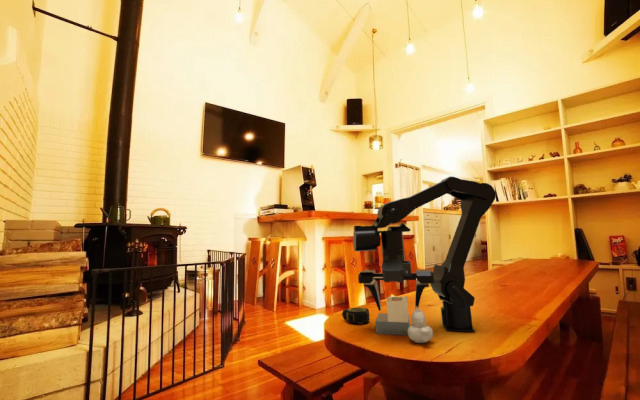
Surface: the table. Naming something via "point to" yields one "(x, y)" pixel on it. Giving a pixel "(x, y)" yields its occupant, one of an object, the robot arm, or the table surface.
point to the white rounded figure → (419, 328)
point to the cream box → (397, 309)
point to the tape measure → (356, 315)
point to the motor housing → (391, 326)
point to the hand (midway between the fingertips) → (397, 310)
